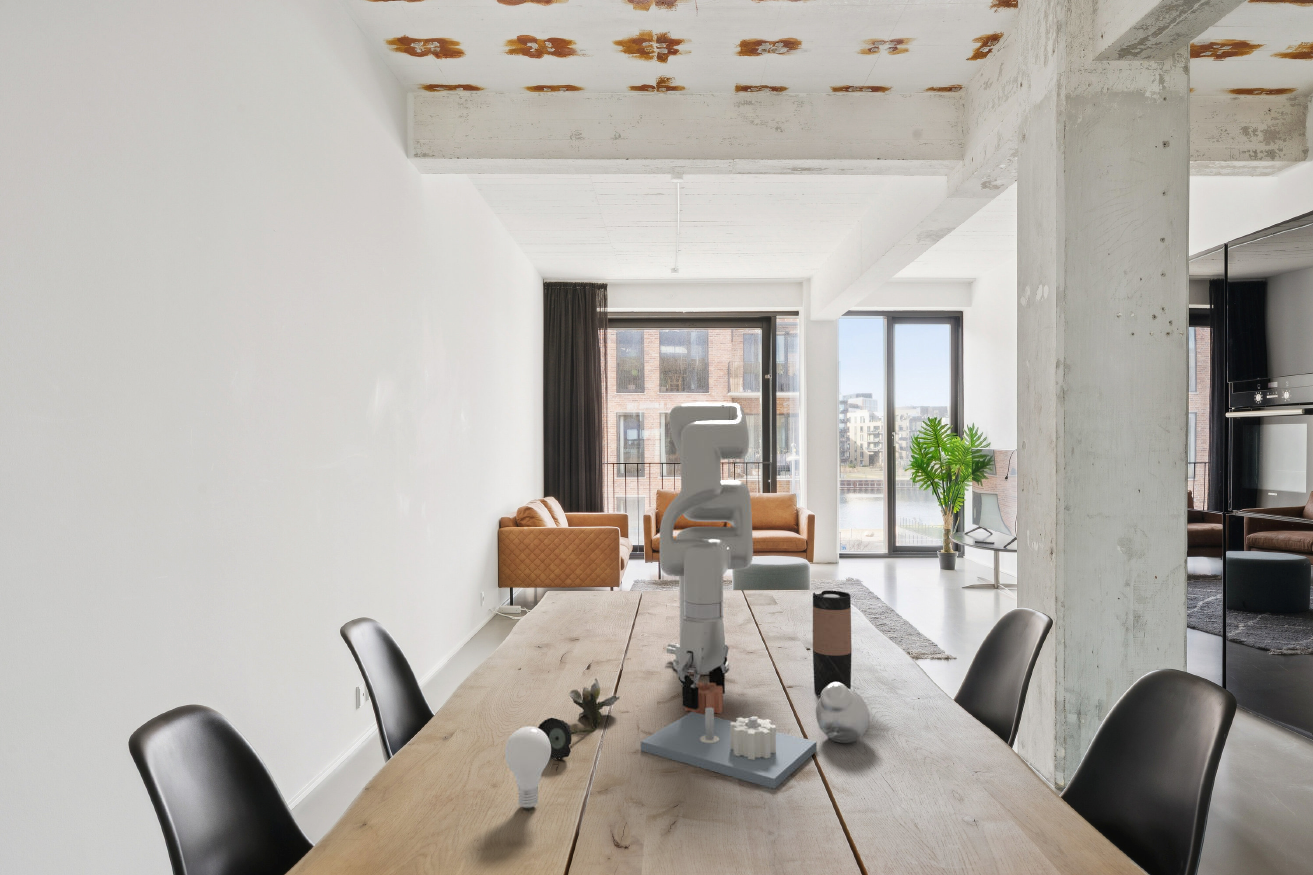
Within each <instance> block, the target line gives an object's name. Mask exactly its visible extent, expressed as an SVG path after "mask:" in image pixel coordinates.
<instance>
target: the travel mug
mask: <svg viewBox="0 0 1313 875" xmlns="http://www.w3.org/2000/svg"><path fill="white" fill-rule="evenodd" d="M851 602H852V599H851V594H850V593H849V592H846V591H840V590H832V589H831V590H822V591H821V593H815V592H812V664H813V666H812V668H813V686H814V688H813V689H814V693H816V694H815V695H817V696H818V695H820V696H821V692H822V690H823V689H824V688H825V687H826V686H827V685H829V684H830V683H832V682H839V683H842V684H844V685H845V686H846V687H847V688H848V689H851V688H852V684H851V683H852V655H853V654H852V652H853V650H852V649H853V648H852V606H851V604H852V603H851ZM851 690H852V689H851ZM820 696H819V697H820Z"/></svg>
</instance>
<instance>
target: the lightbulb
mask: <svg viewBox="0 0 1313 875" xmlns="http://www.w3.org/2000/svg"><path fill="white" fill-rule="evenodd" d="M550 755H551V744H550V740H549V738H548V736H547V735H546V734H545V733H544V732H543V731H542V730H541V729H539V728H538V727H536V726H532V725H529V726H527V725H526V726H523V727H520V728H518V729H516V730H515V731H513V733H512V734H511V735H510V736H509V737H508V739H507V741H506V743H505V747H504V758H505V762H506V764H507V766H508V768H509V770H510V771H511V772H512V773H513V776H514V778H515V782H516V785H517V788H518V791H517V792H518V793H517V794H518V799H517V800H518V804H517V805H518V806H519V807H521V808H523V809H526V810H529V809H530V810H531V809H532V808H533V807H535V806H537V805H538V803H539V802H538V801H539V798H538V797H539V790H538V789H539V785H540V781H541V777H542V773H543V771H544V770H545V768H546V767H547V765H548V763H549V761H550V759H551V757H550Z"/></svg>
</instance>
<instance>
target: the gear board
mask: <svg viewBox="0 0 1313 875" xmlns="http://www.w3.org/2000/svg"><path fill="white" fill-rule="evenodd" d="M748 718H749V719H748V722H749V728H757V718H751V717H748ZM731 722H734V721H733V720H728V719H725V718H719V717H715V713H714V709H713V708H705V714H700V713H695V712H691V711H690V712H689V713H688V714H685V715H684V716H683V717H682V716H681V718H679V719H677V720H676V721H673V722H672V723H670V724H668V725H667V726H665V727H663V728H661V729H659V730H658V731H657V732H655V733H653V734H651V735H649V736H648V737H646V738H644V739H642V740H641V741H640V751H642V752H645V753H649V754H651V755H655V756H659V757H662V758H666V759H669V760H672V761H676V762H679V763H683V762H684V764H686V763H687V765H689V764H691V765H690V766H693V765H694V766H693V767H696V766H698V767H697V768H700V767H701V768H700V769H703V768H705V769H704V770H707V769H709V770H708V771H710V770H711V771H712V772H714V771H715V773H717V772H718V774H721V775H725V776H728V777H731V776H732V777H731V778H734V779H738V780H742V781H746V782H747V783H748V782H749V783H752V784H756V785H760V786H762V787H766V788H769V789H773V790H775V789H776V788H777V787H778V786H780V785H781V783H783V782H784V781H785V780H787V778H788V777H789V776H790V775H792V774H793V773H794V772H795V771H796V770H797V769H798V768H799V767H800V766H802V765H803V764H804V763H805V762H806V761H807V760H808V759H809V758H810V757H811V756H812V755H814V754H815V753H816V752H817V751H818V750H817V749H818V748H817V741H816V740H812V739H807V738H803V737H799V736H795V735H791V734H786V733H782V732H780V731H776V753H771V757H770V758H767V759H765V758H763V757H760V758H756V757H755V760H751V759H748V757H744V756H743V755H741V756H736V755H734V750H731V748H730V724H731ZM816 750H817V751H816ZM814 752H815V753H814Z"/></svg>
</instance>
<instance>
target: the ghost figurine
mask: <svg viewBox="0 0 1313 875" xmlns="http://www.w3.org/2000/svg"><path fill="white" fill-rule="evenodd" d="M819 697H820V698H819V699H818V701H817V703H816V707H815V718H816V721H817V725H818V726H819V729H820V731H821V732H822V733H823V734H824V735H825V736H826V737H828V738H829V739H830V740H832V741H834V742H838V743H841V744H847V743H853V742H856V741H857V740H859V739H861V737H863V735H865V733H866V731H867V730H868V727H869V724H870V711H869V707H868V705H867V703H866V701H865V700H864V698H863V697H862V696H861V695H860V694H859V693H858V692H857V691H855V690H853V689H848V688H847V687H846V686H845V685H844V684H842V683H839V682H832V683H830V684H829V685H827V686H826V687H825V688H824V689H823V690H822V692H821V696H819Z"/></svg>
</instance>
